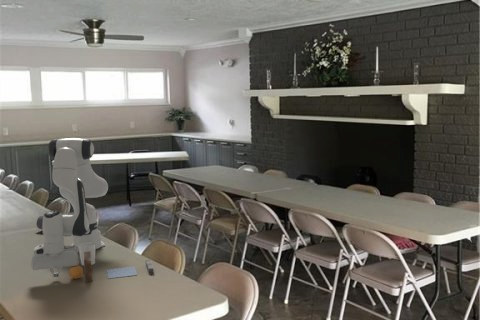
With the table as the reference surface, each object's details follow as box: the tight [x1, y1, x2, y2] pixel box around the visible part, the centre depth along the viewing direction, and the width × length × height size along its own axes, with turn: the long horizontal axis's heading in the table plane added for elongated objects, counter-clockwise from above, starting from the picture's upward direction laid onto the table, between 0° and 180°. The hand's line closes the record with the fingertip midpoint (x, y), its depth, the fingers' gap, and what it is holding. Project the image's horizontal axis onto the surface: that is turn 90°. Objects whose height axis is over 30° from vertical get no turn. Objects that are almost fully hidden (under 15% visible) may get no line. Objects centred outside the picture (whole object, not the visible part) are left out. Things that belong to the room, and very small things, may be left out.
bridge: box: [83, 251, 93, 283], centre depth 239 cm, size 3×15×10 cm, turn 17°
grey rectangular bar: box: [145, 259, 155, 275], centre depth 248 cm, size 14×2×2 cm, turn 17°
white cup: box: [79, 242, 96, 266], centre depth 258 cm, size 8×8×10 cm
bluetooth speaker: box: [36, 215, 43, 230], centre depth 325 cm, size 23×9×10 cm, turn 73°
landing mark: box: [106, 266, 138, 280], centre depth 244 cm, size 13×13×1 cm
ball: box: [68, 264, 84, 279], centre depth 237 cm, size 6×6×6 cm
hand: (56, 276), depth 236 cm, fingers closed
